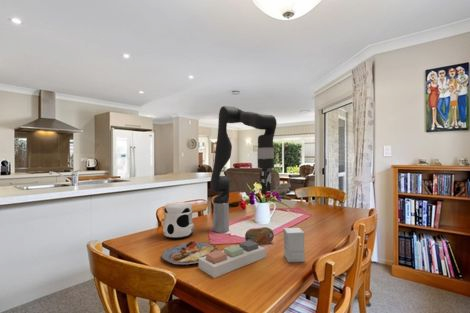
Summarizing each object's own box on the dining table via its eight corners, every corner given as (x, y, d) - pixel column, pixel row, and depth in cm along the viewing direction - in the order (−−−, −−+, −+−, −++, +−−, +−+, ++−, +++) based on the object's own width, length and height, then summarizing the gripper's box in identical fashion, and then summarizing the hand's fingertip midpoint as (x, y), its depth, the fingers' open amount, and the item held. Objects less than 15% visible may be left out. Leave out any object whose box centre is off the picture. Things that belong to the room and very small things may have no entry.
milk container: (160, 234, 148) (159, 203, 148) (189, 229, 155) (188, 200, 155) (166, 243, 132) (166, 209, 132) (198, 237, 140) (197, 205, 140)
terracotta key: (206, 261, 101) (205, 253, 101) (218, 257, 105) (217, 250, 105) (214, 266, 96) (214, 258, 96) (226, 261, 100) (226, 254, 100)
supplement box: (300, 255, 113) (299, 227, 113) (305, 262, 106) (304, 232, 106) (283, 255, 113) (283, 227, 113) (287, 262, 106) (287, 232, 106)
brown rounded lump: (246, 247, 125) (246, 230, 125) (244, 244, 128) (244, 228, 128) (274, 243, 129) (273, 227, 129) (271, 241, 132) (271, 225, 132)
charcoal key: (239, 249, 113) (239, 243, 113) (249, 246, 117) (248, 240, 117) (248, 253, 108) (248, 246, 108) (258, 250, 112) (258, 243, 112)
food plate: (194, 242, 132) (194, 235, 132) (227, 253, 117) (227, 245, 117) (152, 259, 113) (151, 251, 112) (185, 275, 98) (185, 266, 98)
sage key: (223, 255, 107) (223, 248, 107) (234, 251, 111) (234, 244, 111) (232, 259, 102) (232, 252, 102) (243, 255, 106) (243, 248, 106)
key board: (198, 268, 102) (198, 258, 102) (248, 250, 120) (248, 242, 120) (214, 277, 93) (214, 267, 93) (265, 257, 111) (265, 248, 111)
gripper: (261, 157, 123) (261, 190, 123) (253, 158, 109) (254, 195, 109) (276, 157, 120) (276, 191, 121) (271, 157, 107) (271, 195, 107)
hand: (266, 192), depth 115 cm, fingers open, 8 cm apart
